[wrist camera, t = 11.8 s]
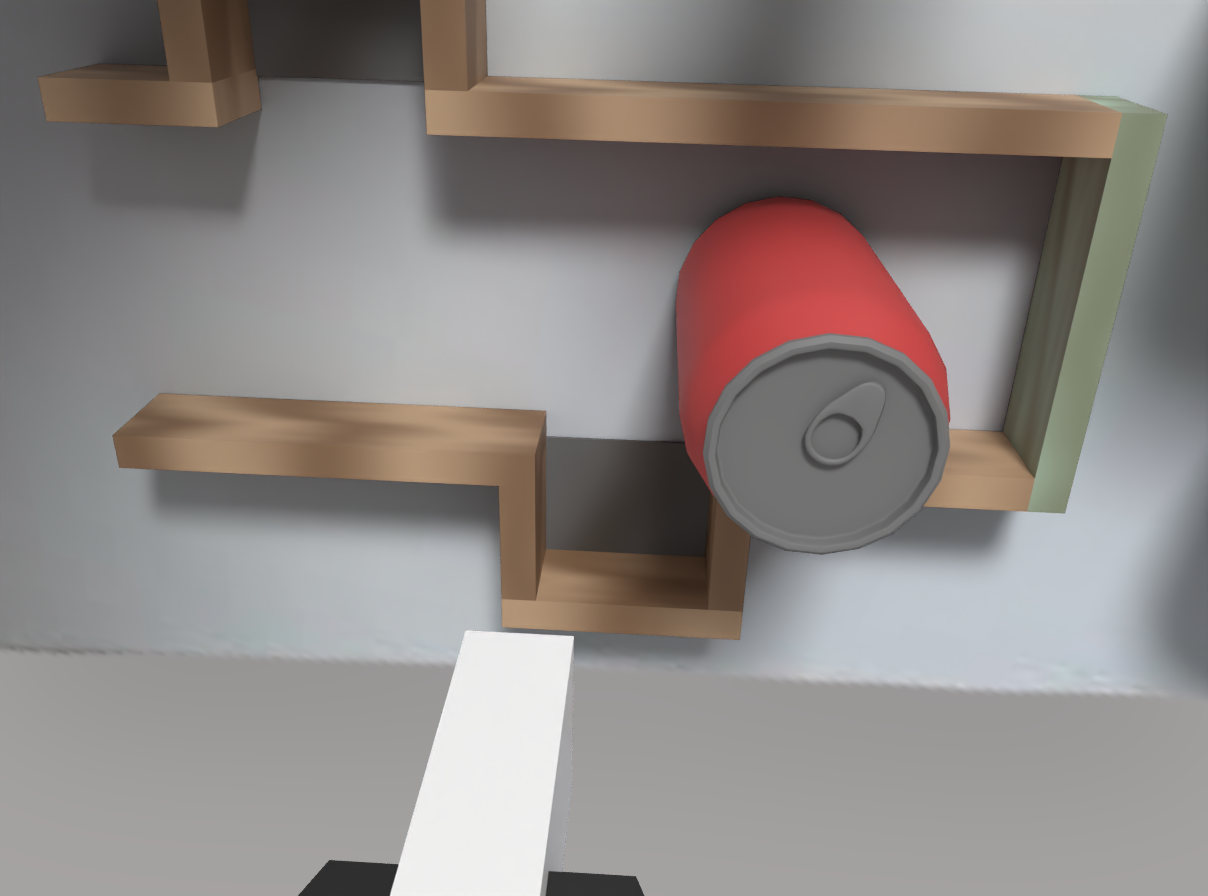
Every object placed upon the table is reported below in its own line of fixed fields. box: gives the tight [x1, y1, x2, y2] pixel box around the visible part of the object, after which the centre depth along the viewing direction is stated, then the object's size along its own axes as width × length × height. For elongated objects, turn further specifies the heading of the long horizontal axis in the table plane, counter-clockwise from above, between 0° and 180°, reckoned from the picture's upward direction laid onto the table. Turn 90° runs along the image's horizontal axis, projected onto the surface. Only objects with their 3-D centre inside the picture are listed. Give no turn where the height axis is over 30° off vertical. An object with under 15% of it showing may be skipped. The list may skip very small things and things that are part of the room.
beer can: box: [676, 197, 950, 555], centre depth 29 cm, size 7×7×12 cm
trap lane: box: [37, 0, 1168, 640], centre depth 33 cm, size 31×24×4 cm
